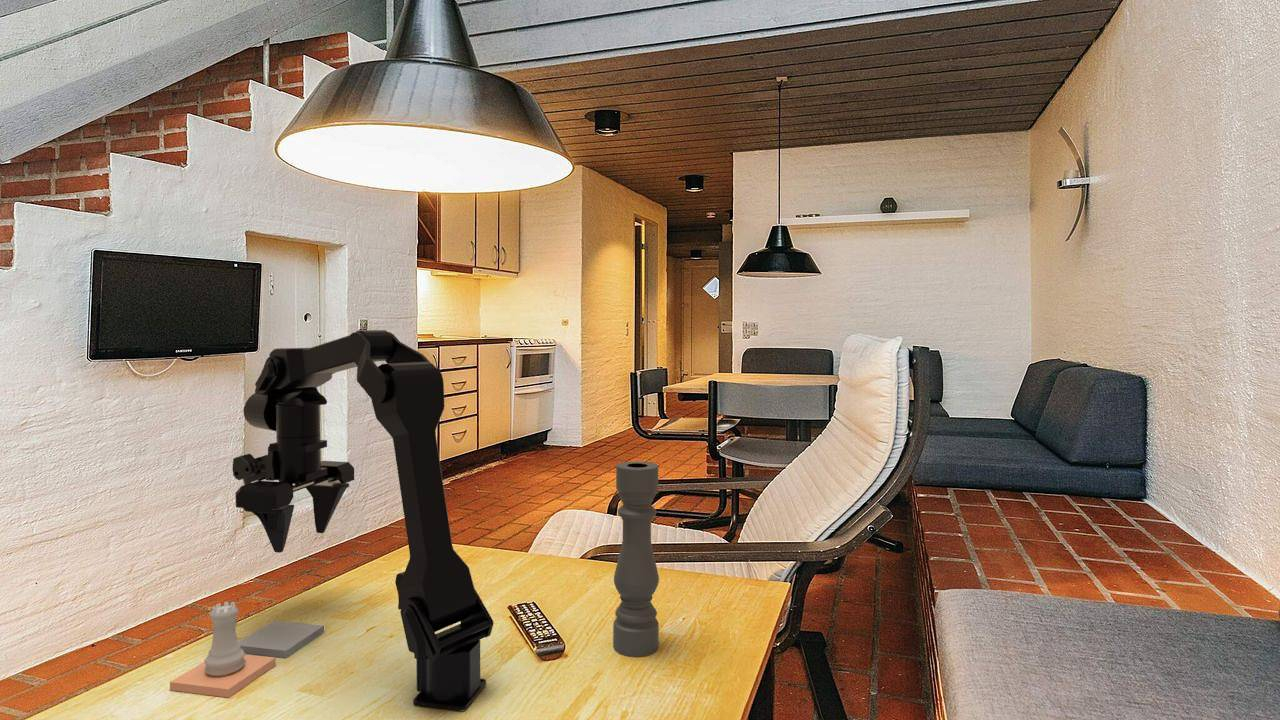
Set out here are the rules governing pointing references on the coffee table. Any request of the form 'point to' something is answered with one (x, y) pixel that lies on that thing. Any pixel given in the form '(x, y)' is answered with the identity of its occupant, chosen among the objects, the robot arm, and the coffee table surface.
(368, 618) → the coffee table surface
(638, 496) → the candle holder
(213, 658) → the rook chess piece
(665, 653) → the coffee table surface
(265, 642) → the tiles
